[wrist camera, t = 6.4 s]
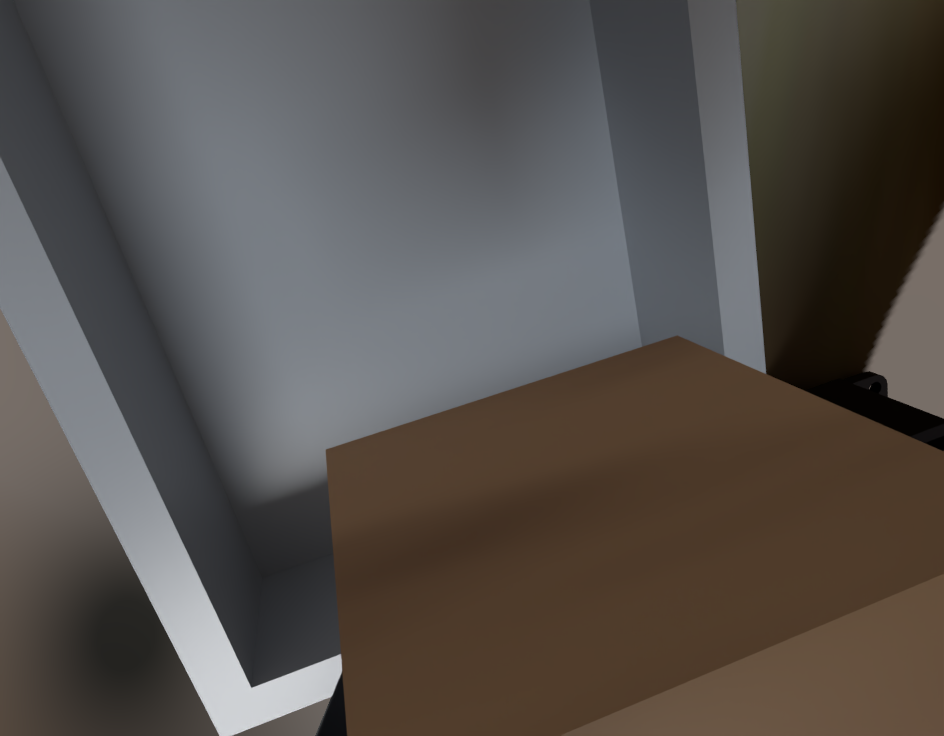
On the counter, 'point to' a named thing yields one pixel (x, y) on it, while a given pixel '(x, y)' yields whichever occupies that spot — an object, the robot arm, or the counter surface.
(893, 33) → the counter surface
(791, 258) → the counter surface
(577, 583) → the walnut block
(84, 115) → the grey tote
